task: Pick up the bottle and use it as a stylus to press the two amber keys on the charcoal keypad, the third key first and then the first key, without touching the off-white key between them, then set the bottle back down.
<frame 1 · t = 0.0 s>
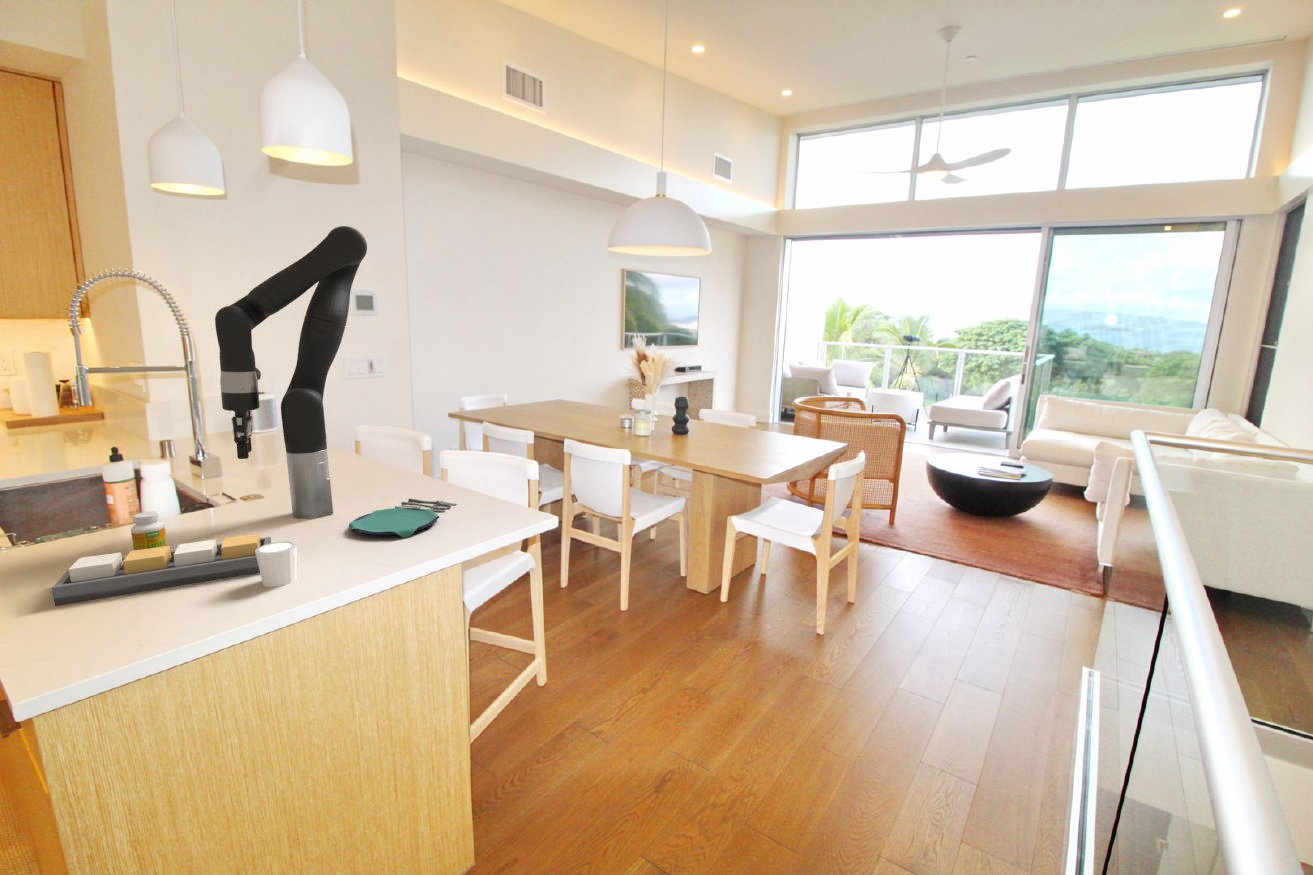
hand: (244, 455, 148), 17 cm above the countertop, tool pointing down, fingers open, 8 cm apart
key 1: (241, 546, 123), point 4 cm above the countertop, slide at 0.0 cm
keypad base: (175, 576, 118), on the countertop
supplement bottle: (152, 558, 127), on the countertop
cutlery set: (407, 521, 154), on the countertop
key 4: (96, 566, 112), point 4 cm above the countertop, slide at 0.0 cm
key 2: (196, 552, 120), point 4 cm above the countertop, slide at 0.0 cm
white cup: (279, 581, 117), on the countertop
key 3: (148, 559, 116), point 4 cm above the countertop, slide at 0.0 cm
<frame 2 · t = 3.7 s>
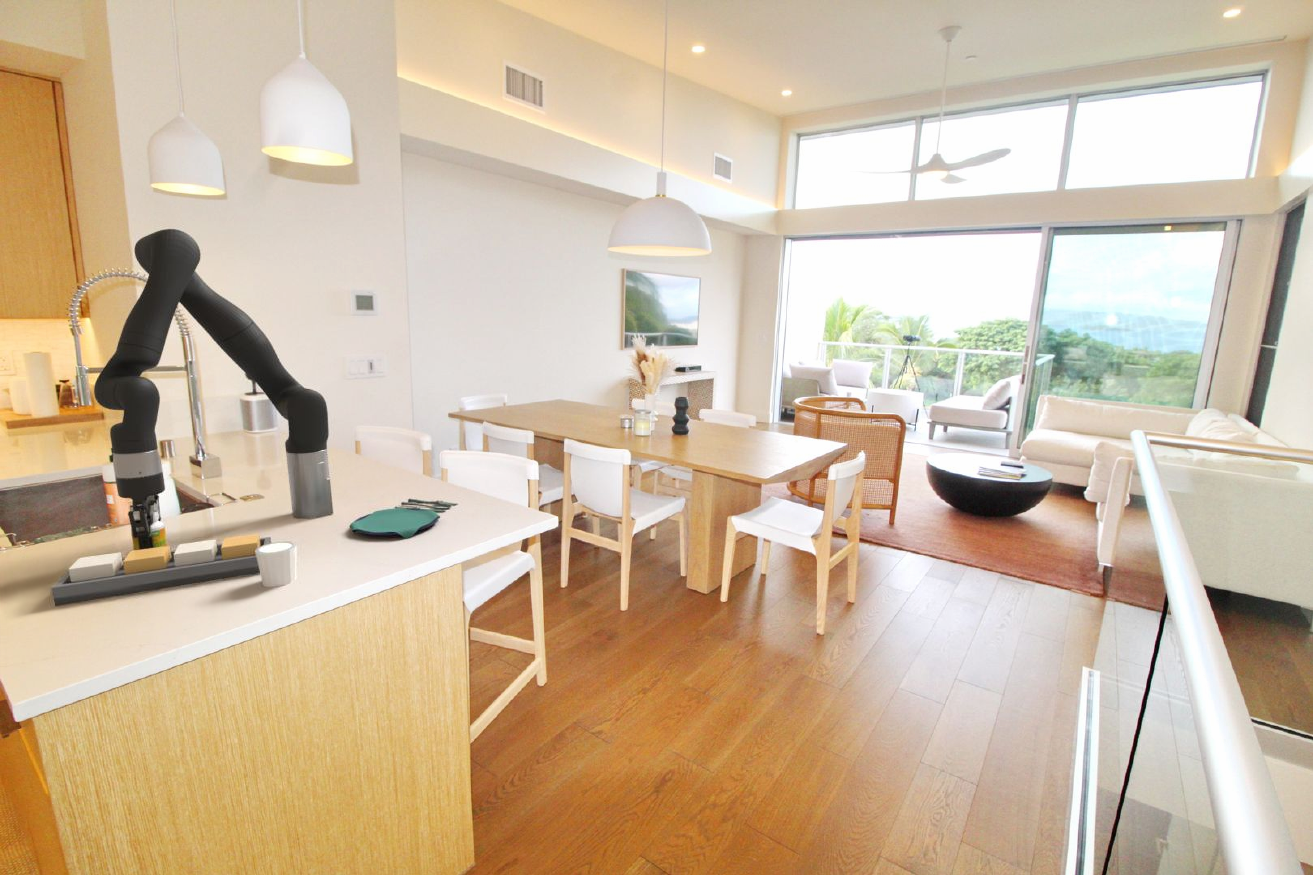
hand: (150, 548, 127), 2 cm above the countertop, tool pointing down, fingers closed on supplement bottle, 5 cm apart
supplement bottle: (152, 558, 127), on the countertop, touching gripper
everything else where it was.
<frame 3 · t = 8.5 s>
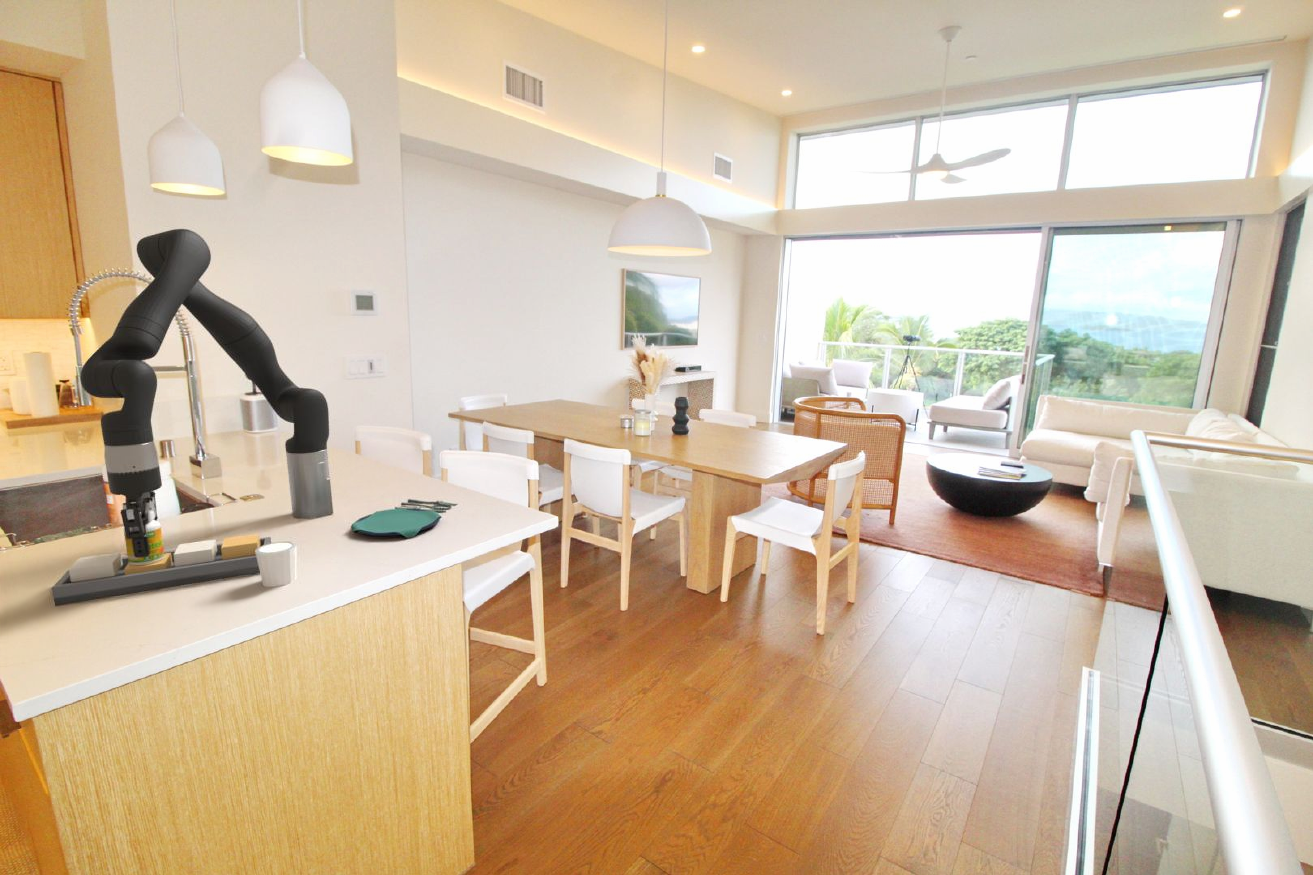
hand: (146, 550, 116), 6 cm above the countertop, tool pointing down, fingers closed on supplement bottle, 5 cm apart
supplement bottle: (147, 561, 116), point 4 cm above the countertop, touching gripper, key 3
key 3: (149, 566, 116), point 3 cm above the countertop, slide at 1.5 cm, touching supplement bottle, keypad base
everything else where it was.
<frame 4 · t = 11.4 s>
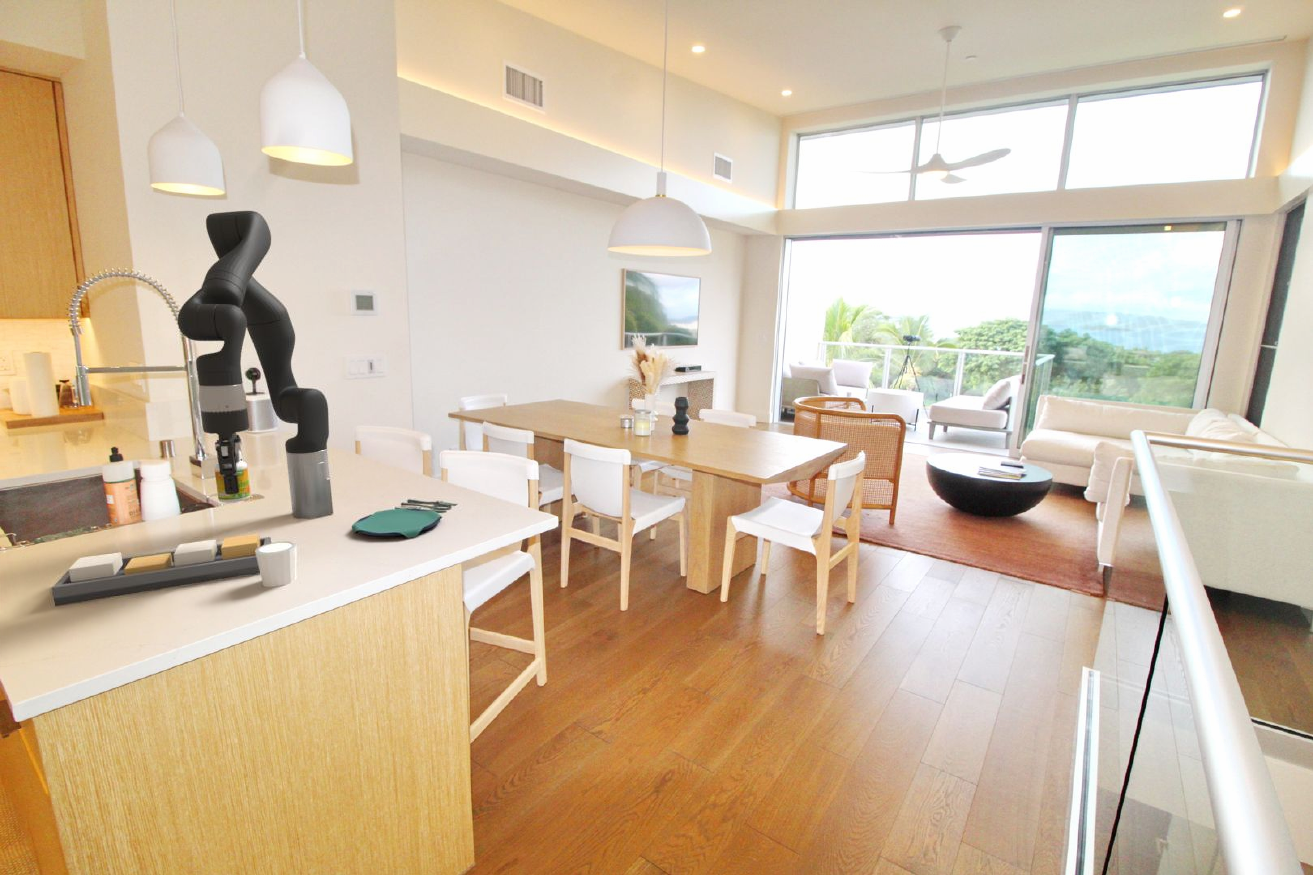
hand: (234, 489, 121), 16 cm above the countertop, tool pointing down, fingers closed on supplement bottle, 5 cm apart
supplement bottle: (235, 500, 121), point 14 cm above the countertop, touching gripper
key 3: (149, 566, 116), point 3 cm above the countertop, slide at 1.5 cm, touching keypad base
everything else where it was.
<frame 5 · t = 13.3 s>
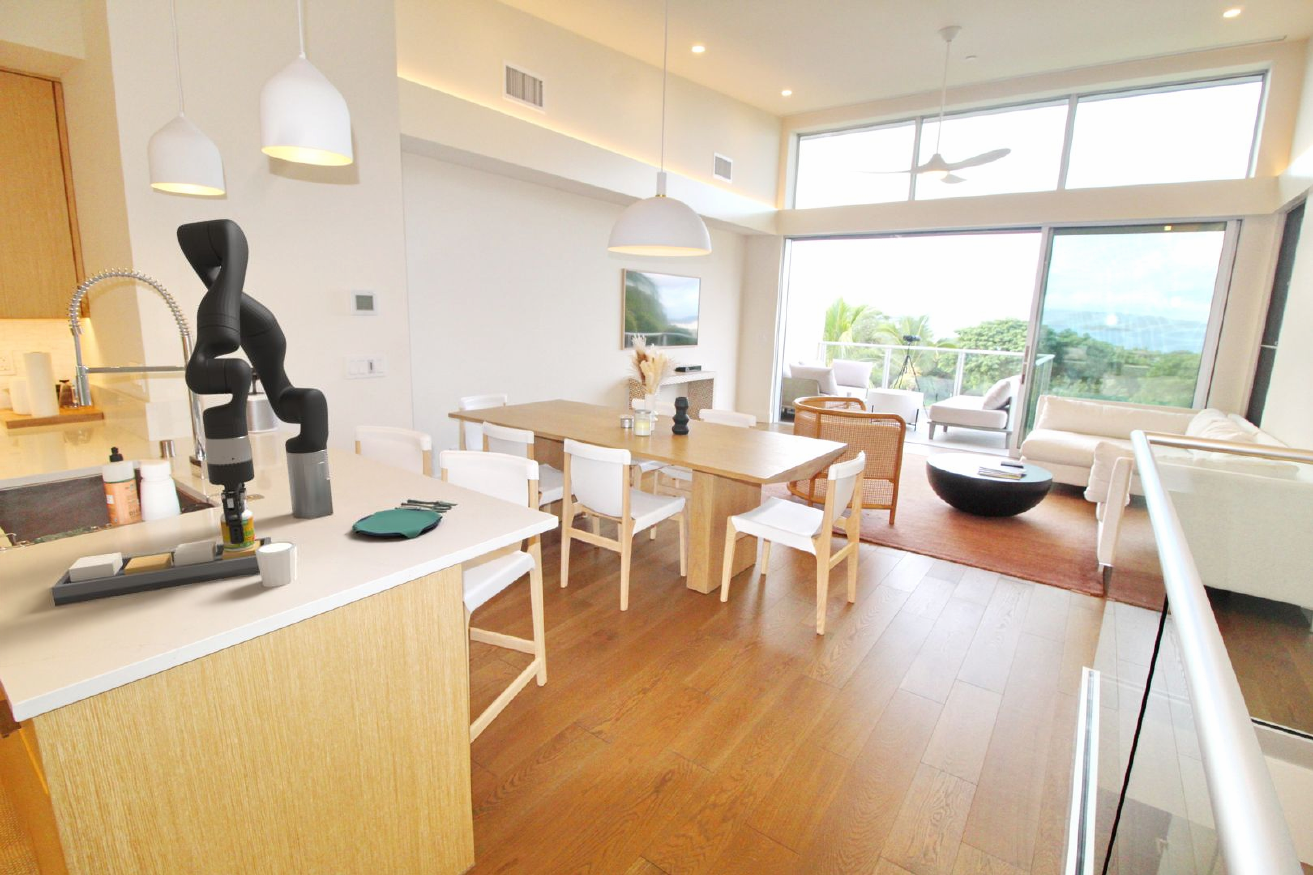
hand: (239, 538, 123), 6 cm above the countertop, tool pointing down, fingers closed on supplement bottle, 5 cm apart
key 1: (242, 553, 123), point 3 cm above the countertop, slide at 1.5 cm, touching supplement bottle, keypad base
supplement bottle: (240, 548, 123), point 4 cm above the countertop, touching gripper, key 1
everything else where it was.
when the fingers open (3 cm above the countertop, at t = 19.3 s): supplement bottle drops 1 cm, on the countertop.
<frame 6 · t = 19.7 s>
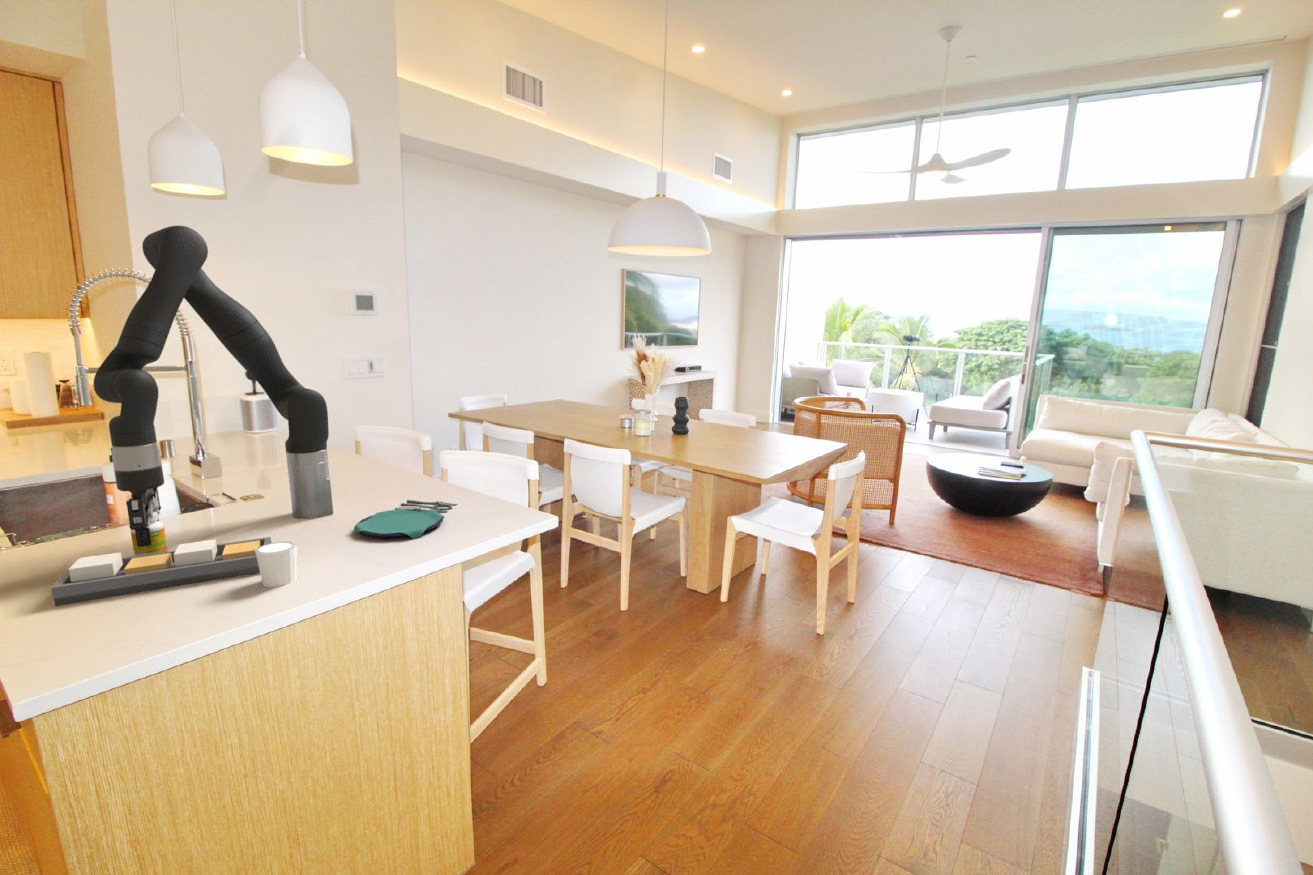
hand: (149, 539, 127), 4 cm above the countertop, tool pointing down, fingers open, 8 cm apart
key 1: (242, 553, 123), point 3 cm above the countertop, slide at 1.5 cm, touching keypad base
supplement bottle: (152, 558, 127), on the countertop
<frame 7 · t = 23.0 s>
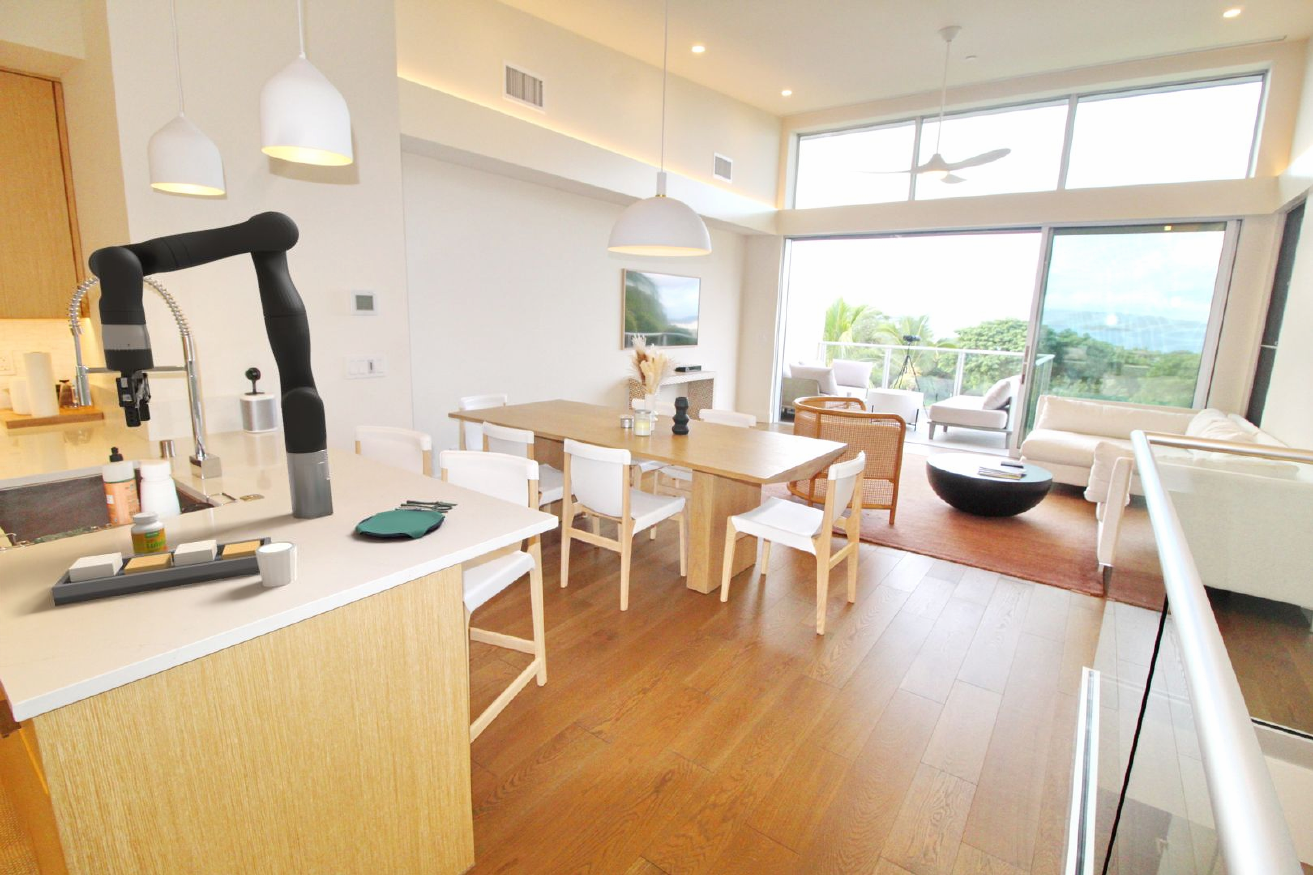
hand: (139, 423, 127), 28 cm above the countertop, tool pointing down, fingers open, 8 cm apart
at the end: key 3 slide at 1.5 cm; key 1 slide at 1.5 cm; key 2 slide at 0.0 cm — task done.
